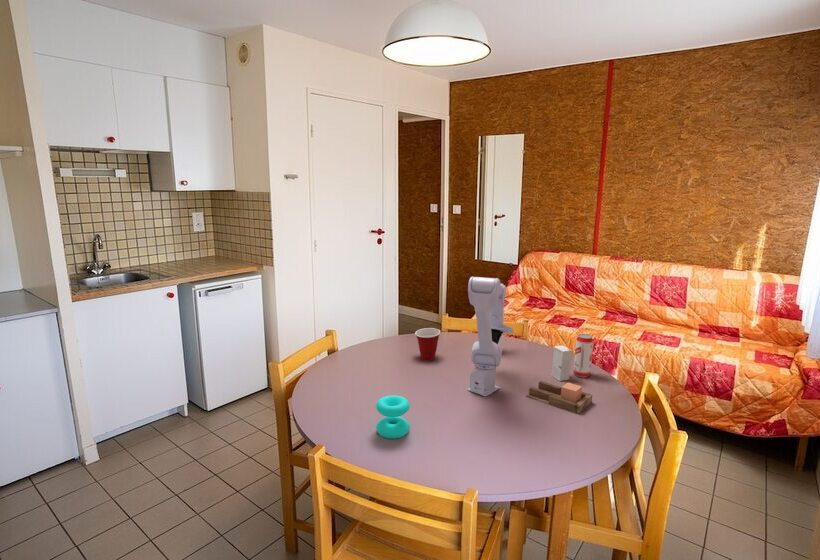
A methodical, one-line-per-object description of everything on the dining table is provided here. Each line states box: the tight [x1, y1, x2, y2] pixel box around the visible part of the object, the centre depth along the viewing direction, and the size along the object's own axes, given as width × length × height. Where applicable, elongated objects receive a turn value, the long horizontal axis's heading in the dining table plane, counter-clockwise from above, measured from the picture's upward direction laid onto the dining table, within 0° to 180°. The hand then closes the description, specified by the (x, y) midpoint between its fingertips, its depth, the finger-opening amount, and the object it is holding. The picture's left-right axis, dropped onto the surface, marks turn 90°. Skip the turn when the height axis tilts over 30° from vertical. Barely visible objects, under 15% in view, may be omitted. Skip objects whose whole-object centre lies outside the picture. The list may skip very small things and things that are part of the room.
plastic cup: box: [414, 327, 441, 361], centre depth 200 cm, size 11×11×12 cm
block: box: [560, 382, 583, 403], centre depth 160 cm, size 5×5×6 cm
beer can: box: [573, 333, 594, 379], centre depth 183 cm, size 6×6×16 cm
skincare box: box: [551, 344, 573, 382], centre depth 181 cm, size 6×4×12 cm
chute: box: [525, 380, 593, 415], centre depth 164 cm, size 11×19×3 cm, turn 48°
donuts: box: [375, 394, 410, 439], centre depth 142 cm, size 10×10×10 cm
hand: (494, 347), depth 185 cm, fingers closed
